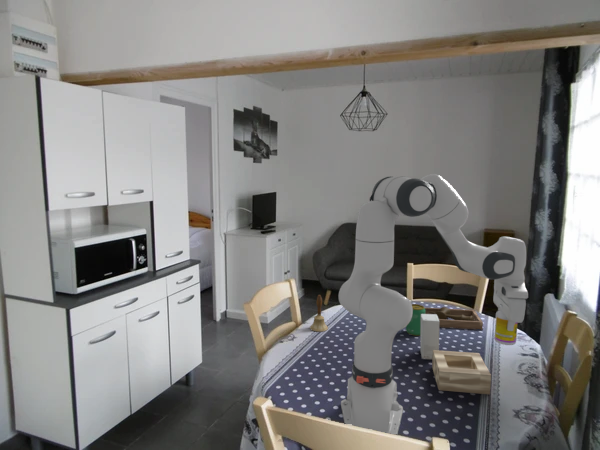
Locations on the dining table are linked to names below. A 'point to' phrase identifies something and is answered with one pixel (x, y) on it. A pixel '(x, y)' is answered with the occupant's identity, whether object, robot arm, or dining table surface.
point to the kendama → (445, 314)
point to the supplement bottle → (504, 329)
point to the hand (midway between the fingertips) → (505, 325)
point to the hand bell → (319, 318)
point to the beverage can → (415, 320)
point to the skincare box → (429, 335)
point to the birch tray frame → (461, 372)
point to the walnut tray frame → (459, 323)
